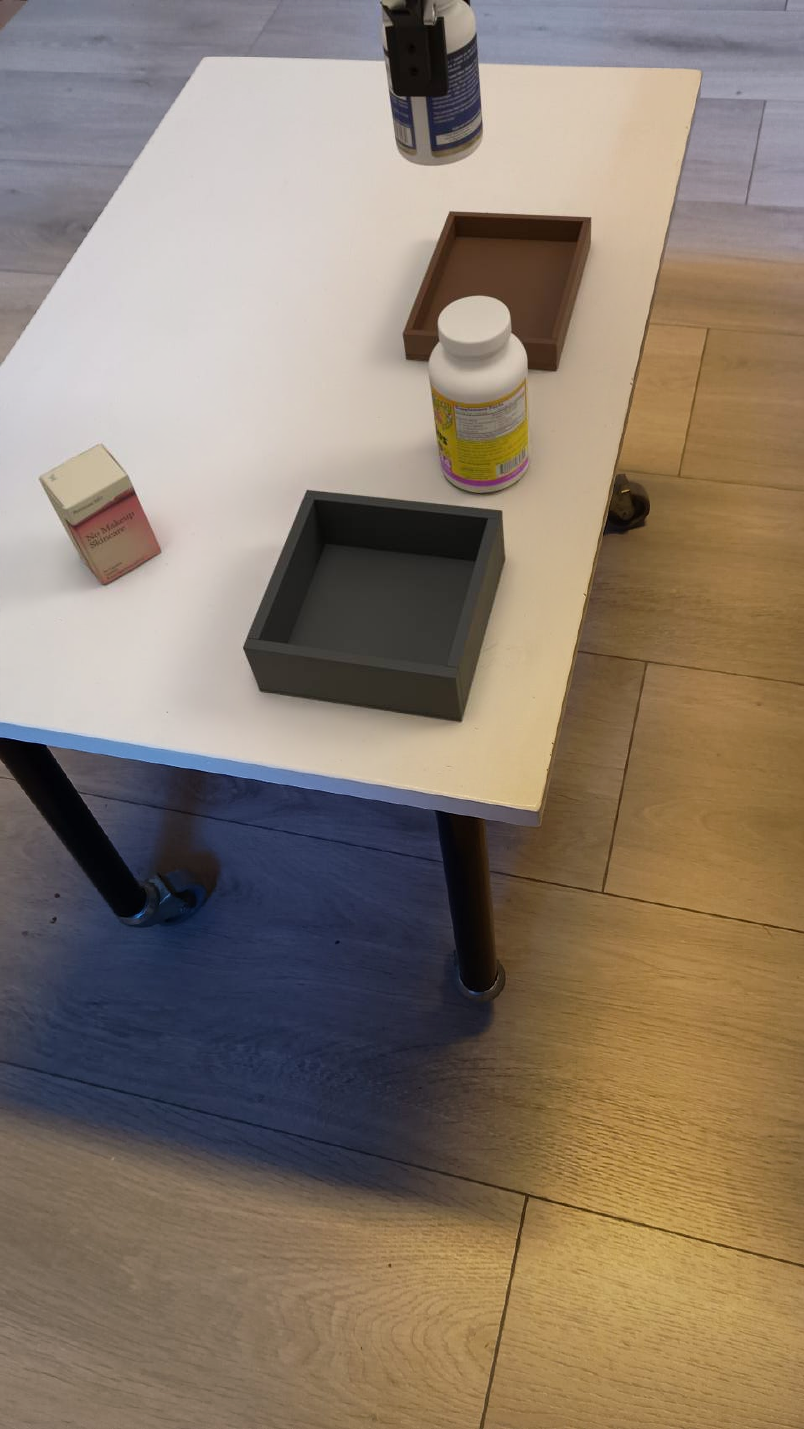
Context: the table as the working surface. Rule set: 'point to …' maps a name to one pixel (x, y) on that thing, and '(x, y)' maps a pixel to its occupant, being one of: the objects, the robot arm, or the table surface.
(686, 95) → the table surface
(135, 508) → the small box
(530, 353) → the tray
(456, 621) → the dark grey open box
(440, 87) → the robot arm
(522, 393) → the supplement bottle
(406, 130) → the pill bottle
